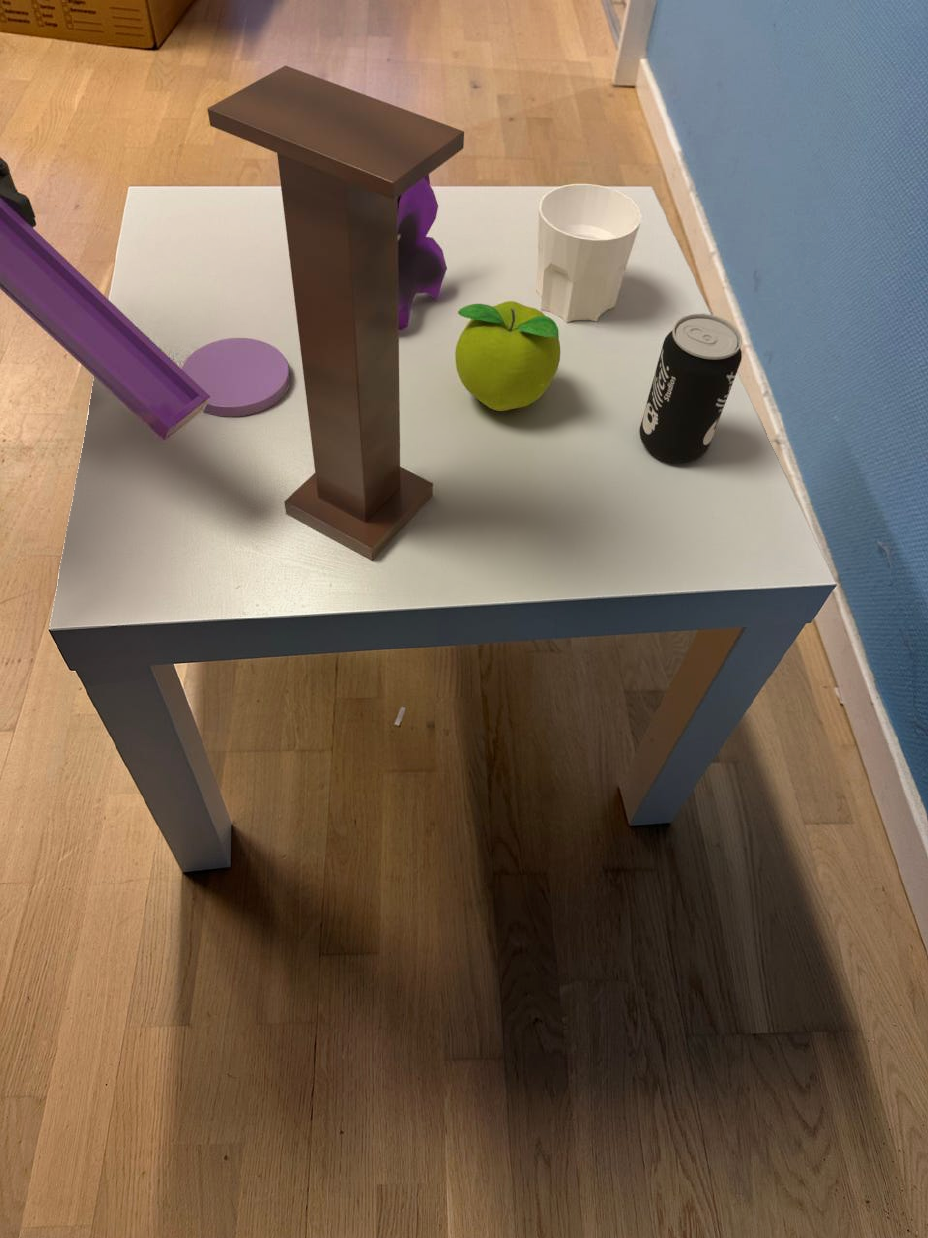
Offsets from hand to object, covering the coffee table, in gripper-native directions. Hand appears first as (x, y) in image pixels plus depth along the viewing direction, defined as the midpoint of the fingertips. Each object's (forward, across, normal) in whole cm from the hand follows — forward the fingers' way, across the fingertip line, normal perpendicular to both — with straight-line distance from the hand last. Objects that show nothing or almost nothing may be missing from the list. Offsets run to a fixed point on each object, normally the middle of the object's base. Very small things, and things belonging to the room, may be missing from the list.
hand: (0, 230), depth 63 cm
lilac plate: (+5, +14, +20) cm, 25 cm away
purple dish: (+5, 0, +5) cm, 7 cm away
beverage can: (+44, +31, +21) cm, 57 cm away
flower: (+7, +33, +20) cm, 39 cm away
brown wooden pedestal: (+24, +8, +20) cm, 33 cm away
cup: (+26, +45, +20) cm, 56 cm away
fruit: (+27, +27, +21) cm, 44 cm away
